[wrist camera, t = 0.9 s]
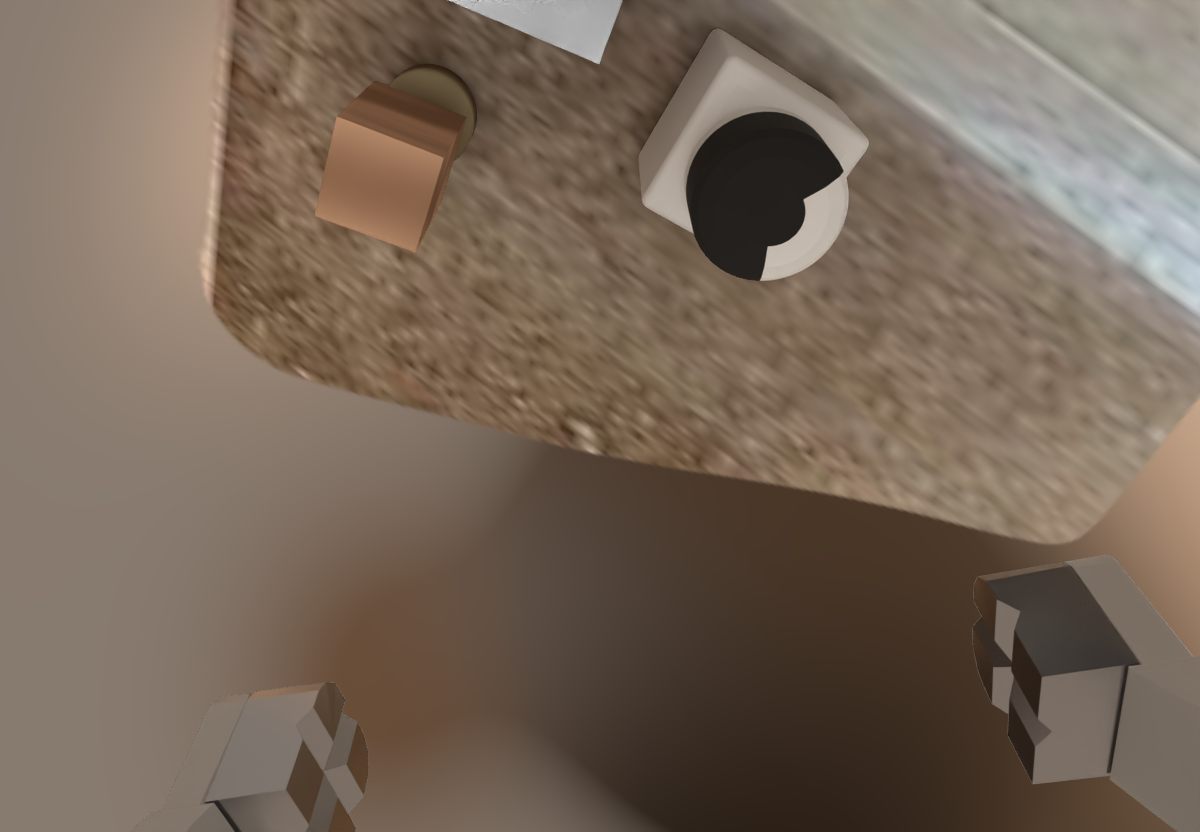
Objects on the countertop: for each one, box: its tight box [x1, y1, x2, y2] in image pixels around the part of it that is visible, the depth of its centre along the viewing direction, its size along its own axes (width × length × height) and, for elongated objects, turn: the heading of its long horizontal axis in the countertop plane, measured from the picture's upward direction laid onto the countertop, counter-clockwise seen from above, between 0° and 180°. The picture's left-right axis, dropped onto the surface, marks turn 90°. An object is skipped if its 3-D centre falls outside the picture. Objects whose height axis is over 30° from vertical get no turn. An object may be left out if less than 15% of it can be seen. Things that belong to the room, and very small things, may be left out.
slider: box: [315, 64, 477, 252], centre depth 37 cm, size 4×4×12 cm
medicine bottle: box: [638, 28, 869, 281], centre depth 38 cm, size 7×7×12 cm
